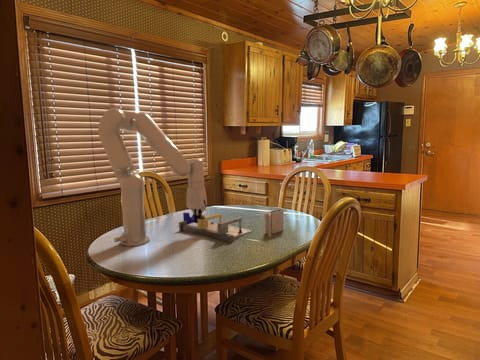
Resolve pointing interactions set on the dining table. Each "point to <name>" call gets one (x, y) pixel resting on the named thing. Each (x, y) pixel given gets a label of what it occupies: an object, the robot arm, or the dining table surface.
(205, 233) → the rail
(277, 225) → the hinge
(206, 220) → the sliding leg
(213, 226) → the bolt plate
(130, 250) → the dining table surface
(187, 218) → the cable clip
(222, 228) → the fixed leg
